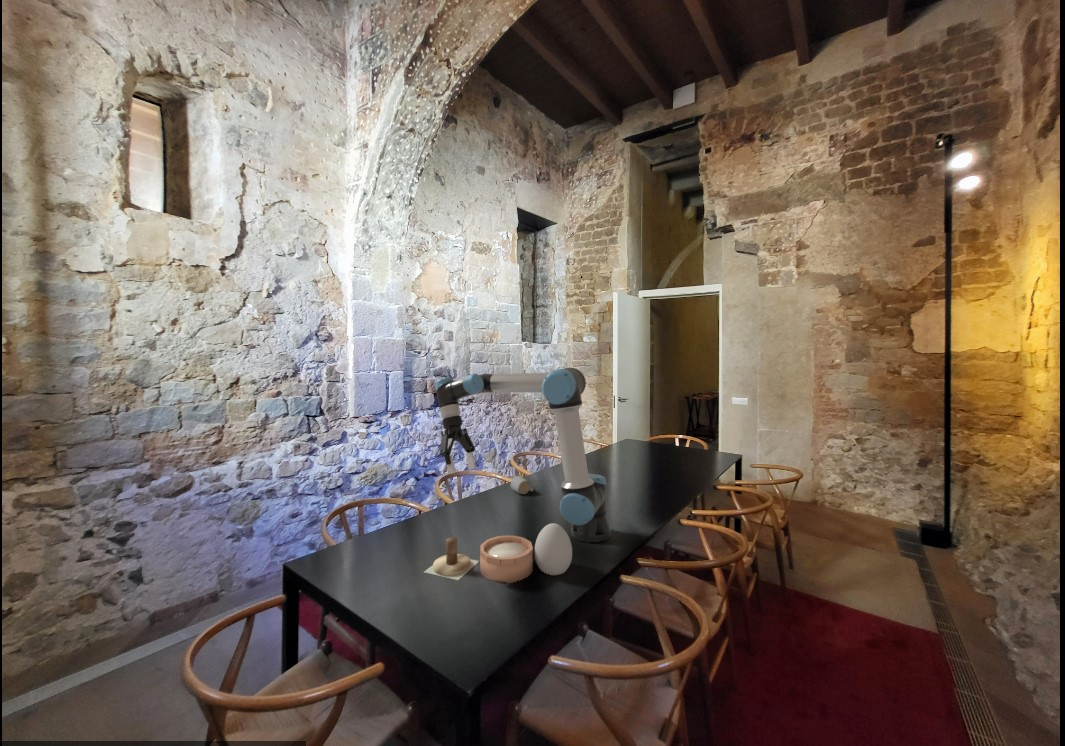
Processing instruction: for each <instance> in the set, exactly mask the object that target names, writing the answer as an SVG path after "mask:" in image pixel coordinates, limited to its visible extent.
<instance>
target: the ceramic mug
mask: <svg viewBox="0 0 1065 746" xmlns="http://www.w3.org/2000/svg"><path fill="white" fill-rule="evenodd" d="M510 488H511V491H514V492H515V493H517V494H519V495H522V494H523V495H526V494H528V493H529V491H530V492H533V491H534V488H533V487H532V486H531V483H530V482H529V481H528V480H527V479H525V478H523V477H522V476H521V475H516V476H514V477H513V478H512V479H511V480H510Z"/></svg>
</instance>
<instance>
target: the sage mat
mask: <svg viewBox="0 0 1065 746" xmlns="http://www.w3.org/2000/svg"><path fill="white" fill-rule="evenodd" d="M470 561H471V566H470V568H469V569H468V570H467V571H466V572H464V573H462V574H459V575H454V576H443V575H439V574H437V573H435V572H434V569H433V564H432V565H431V566H429V567H428V568H426V569H425V570H424V571H423V573H425V574H430V575H434V576H439V577H443V578H448V579H451V580H455V581H459V580H461V578H463V576H465V575H466V574H467V573H468V572H469V571H470V570H472V568H474V567H475V566H476V565H477V564H478V563H479V562H480V560H477V559H471V558H470Z"/></svg>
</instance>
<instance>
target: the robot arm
mask: <svg viewBox="0 0 1065 746" xmlns="http://www.w3.org/2000/svg"><path fill="white" fill-rule="evenodd" d="M586 381H587V380H586V377H585V375H584V374H583V372H582V371H580V370H579V369H577V368H574V367H566V368H558V369H553V370H552V371H550V372H530V373H525V372H524V373H482V374H478V373H472V374H468V375H465V376H463V377H461V378H458V379H455V380H454V378H452V377H448V376H447V377H443V378H440V379H437V380H436V381H435V382H434V386H435V394H436V397H437V401H438V406H439V411H440V416H441V422H442V426H443V429H441V431H440V435H441V438H440V447H439V448H440V449H439V455H440V456H441V457H442V458H444V459H445V464H446V469H447V474H448V475H450V474H454V473H456V468H455V467H456V466H455V463H454V457H453V454H452V449H453V446H454V442H458V443H459V444H460V445H461V447H462V448H463V450H464V451H465V455H466V456H465V457H466V462H467V467H468V470H469V471H470V470H475V469H476V463H475V458H474V452H475V450H476V447H475V445H474V443H473V441H472V439H471V437H470V435H469V433H468V431H467V428H466V427H464V428H463V427H462V425H463V419H462V416H461V408H460V405H459V400H460V399H464V398H467V397H470V396H474V395H479V394H483V393H542V395H543V397H544V398H545V400H546V401H548V402H547V403H548V406H549V410H550V411H551V412H553V414H554V418H555V425H556V426H555V427H556V431H557V439H558V446H559V452H560V459H561V465H562V466H561V467H562V471H563V472H562V473H563V477H564V479H563V481H562V483H561V484H560V486H561V494H562V498H561V500H560V503H559V511H560V514H561V516H562V517H563V519H564V520H566V521H567V522H568V523H570V524H571V526H570V527H571V529H570V532H571V533H570V535H571V537H572V538H574V539H575V540H578V541H579V542H583V541H585V542H584V543H590V542H596V543H600V542H599V541H603V540H606V539H608V538H609V537H610V536H612V528H611V525H610V522H609V520H608V517H607V486H608V485H607V479H606V477H605V476H604V475H601V474H596V473H589V472H588V471H589V469H588V465H587V459H586V458H587V457H586V456H587V455H586V449H585V444H584V436H583V429H582V424H581V416H580V408H581V407H582V406H583V401H582V394H583V393H584V391H585V390H586V387H587V382H586ZM610 538H611V537H610ZM610 538H609V539H610ZM609 539H608V540H609ZM606 541H607V540H606ZM603 542H604V541H603Z"/></svg>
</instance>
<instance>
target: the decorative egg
mask: <svg viewBox="0 0 1065 746" xmlns="http://www.w3.org/2000/svg"><path fill="white" fill-rule="evenodd" d="M533 553H534V560H535V563H536V566H537V567H538V568H539V570H541V573H543V572H544V574H545V573H546V574H545V575H548V574H549V576H559V575H562V574H564V573H565V572H566V571H567V570H568V569H569V567H570V566H571V563H572V559H573V546H572V542H571V538H570V536H569V534H568V533H567V531H566V530H565V529H564V527H563V526H561V525H560V524H558V523H554V522H553V523H548V524H547V525H545V526H544V527H543V528H542V529H541V530H540V532H539V533H538V535H537V538H536V539H535V544H534V549H533Z"/></svg>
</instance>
